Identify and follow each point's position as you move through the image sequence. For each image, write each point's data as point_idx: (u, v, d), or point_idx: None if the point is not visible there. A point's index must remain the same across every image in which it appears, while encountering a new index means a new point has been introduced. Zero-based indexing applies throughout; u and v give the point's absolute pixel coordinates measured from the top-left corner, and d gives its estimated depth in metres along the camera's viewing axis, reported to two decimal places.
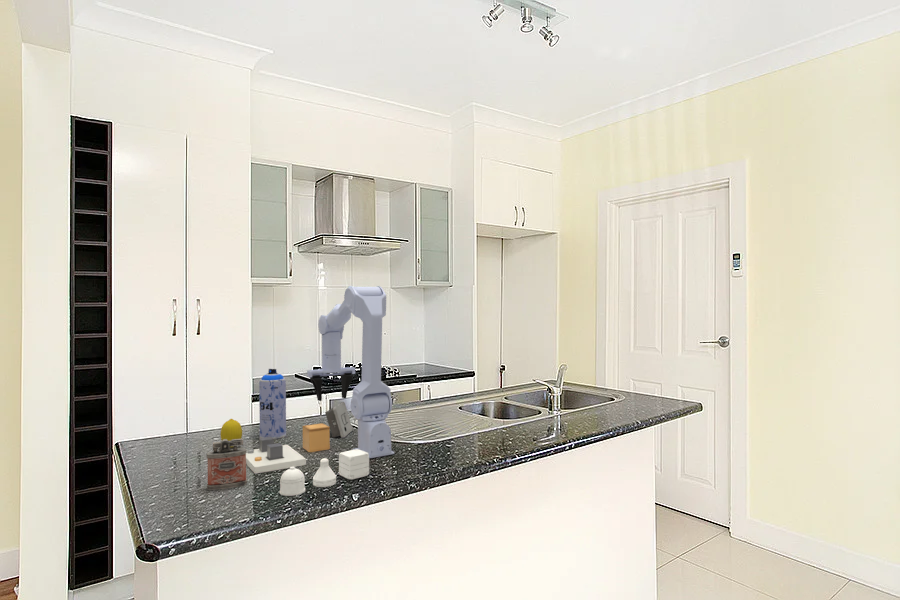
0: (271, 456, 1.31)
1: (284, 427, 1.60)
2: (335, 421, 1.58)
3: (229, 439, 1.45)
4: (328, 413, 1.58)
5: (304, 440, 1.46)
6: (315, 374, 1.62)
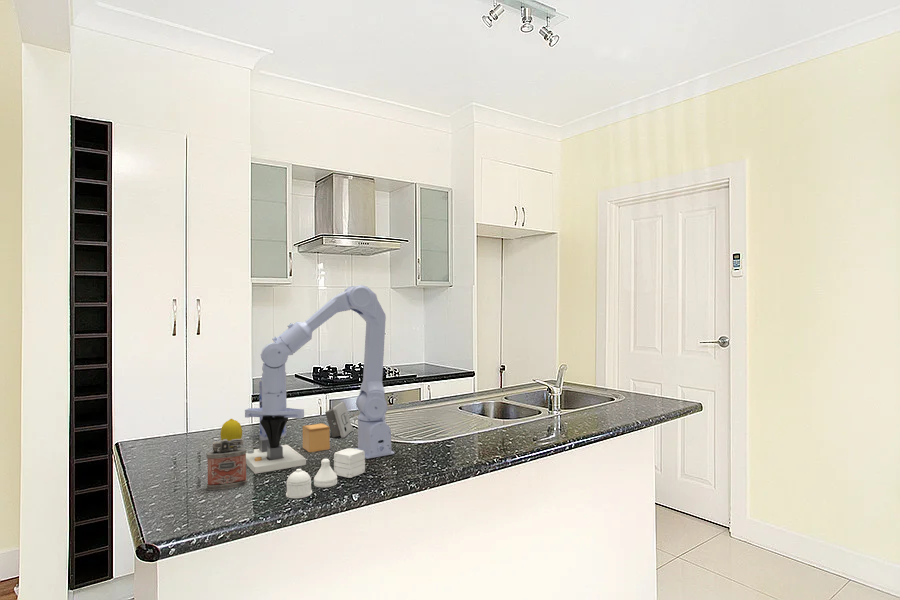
0: (271, 457, 1.31)
1: (284, 427, 1.60)
2: (335, 421, 1.58)
3: (229, 439, 1.45)
4: (328, 413, 1.58)
5: (304, 440, 1.46)
6: (254, 414, 1.33)
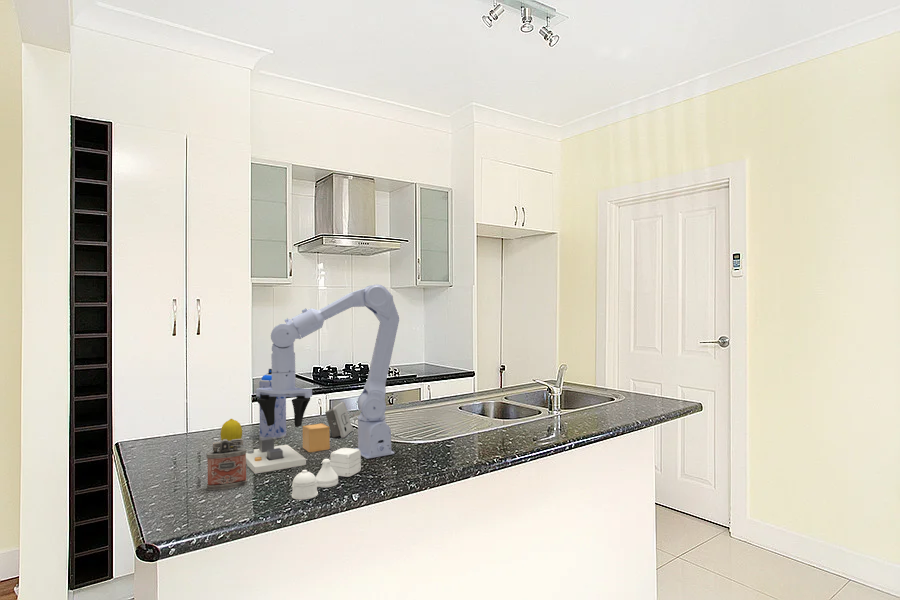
0: None
1: (284, 427, 1.60)
2: (335, 421, 1.58)
3: (229, 439, 1.45)
4: (328, 413, 1.58)
5: (304, 440, 1.46)
6: (265, 393, 1.37)
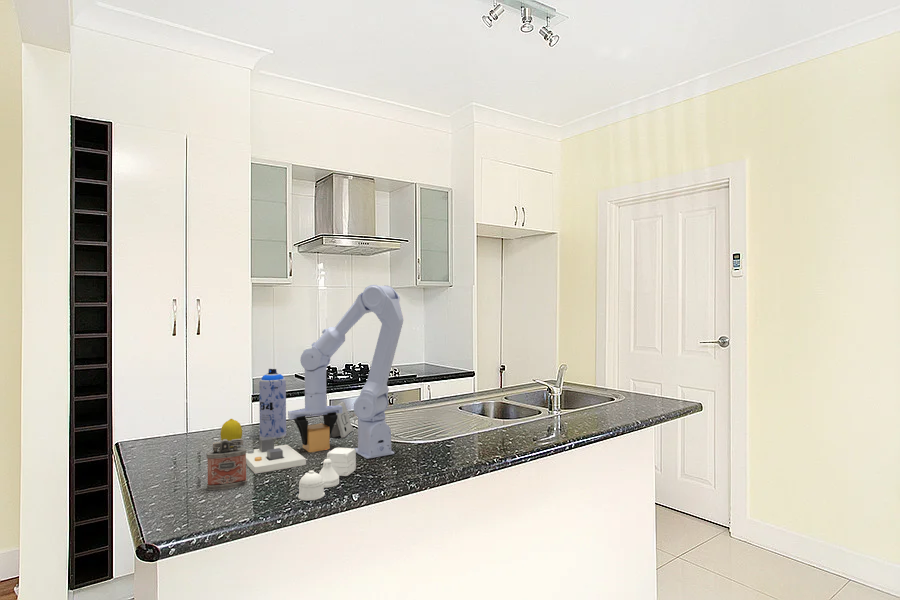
0: None
1: (284, 427, 1.60)
2: None
3: (229, 439, 1.45)
4: None
5: None
6: (297, 415, 1.43)
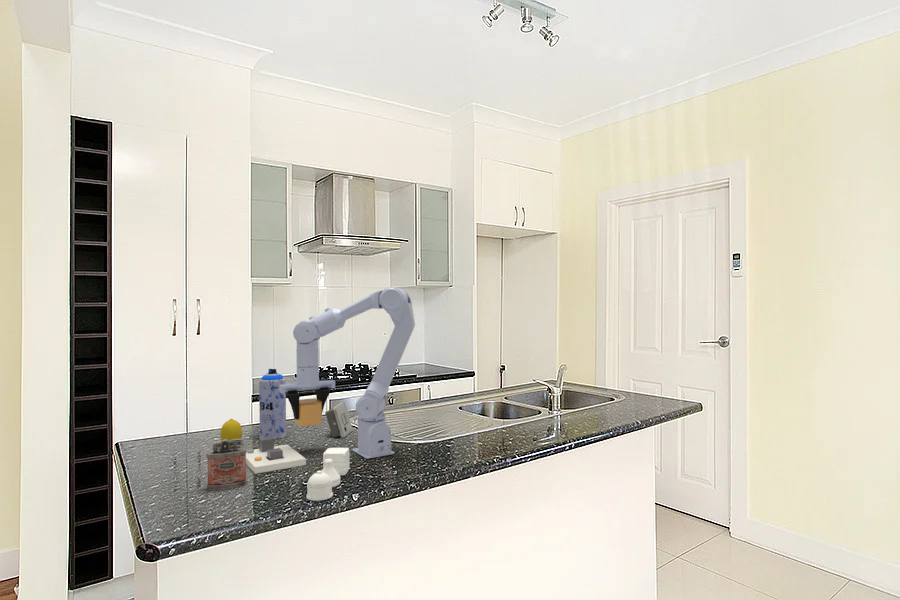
0: None
1: (284, 427, 1.60)
2: (335, 421, 1.58)
3: (229, 439, 1.45)
4: (328, 413, 1.58)
5: None
6: (289, 389, 1.41)
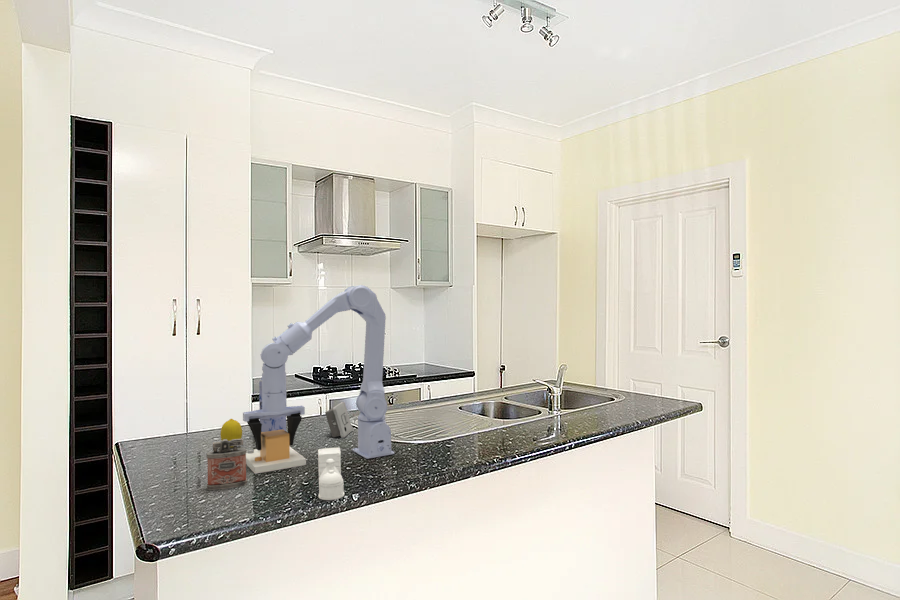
0: None
1: (284, 427, 1.60)
2: (335, 421, 1.58)
3: (229, 439, 1.45)
4: (328, 413, 1.58)
5: (261, 448, 1.33)
6: (253, 417, 1.30)
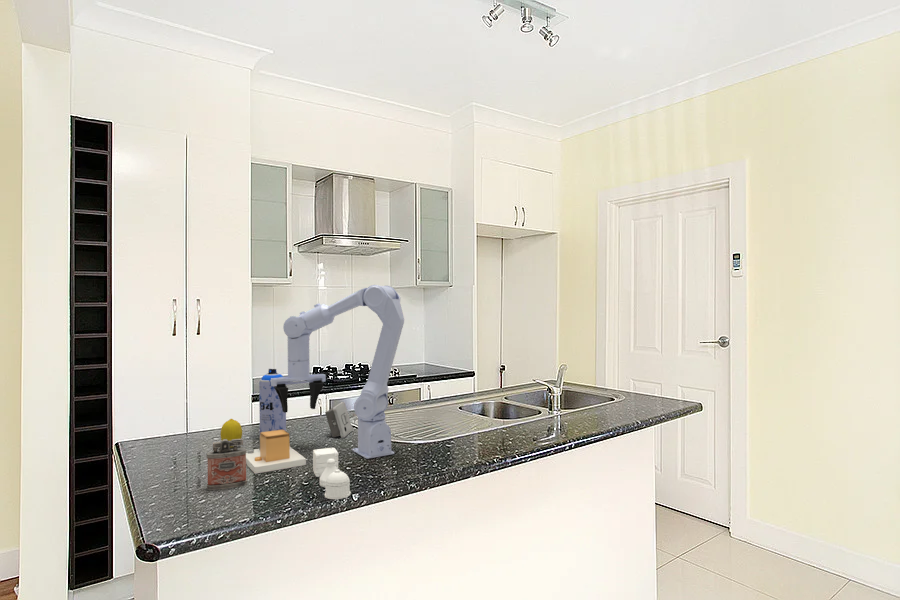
0: None
1: (284, 427, 1.60)
2: (335, 421, 1.58)
3: (229, 439, 1.45)
4: (328, 413, 1.58)
5: (261, 448, 1.33)
6: (280, 382, 1.44)
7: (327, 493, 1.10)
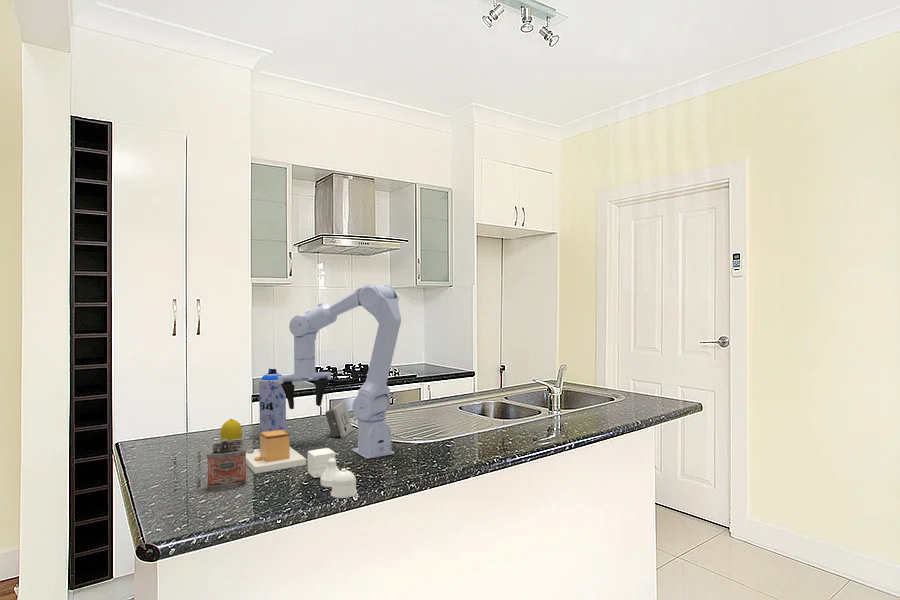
0: None
1: (284, 427, 1.60)
2: (335, 421, 1.58)
3: (229, 439, 1.45)
4: (328, 413, 1.58)
5: (261, 448, 1.33)
6: (287, 380, 1.48)
7: (335, 492, 1.10)
